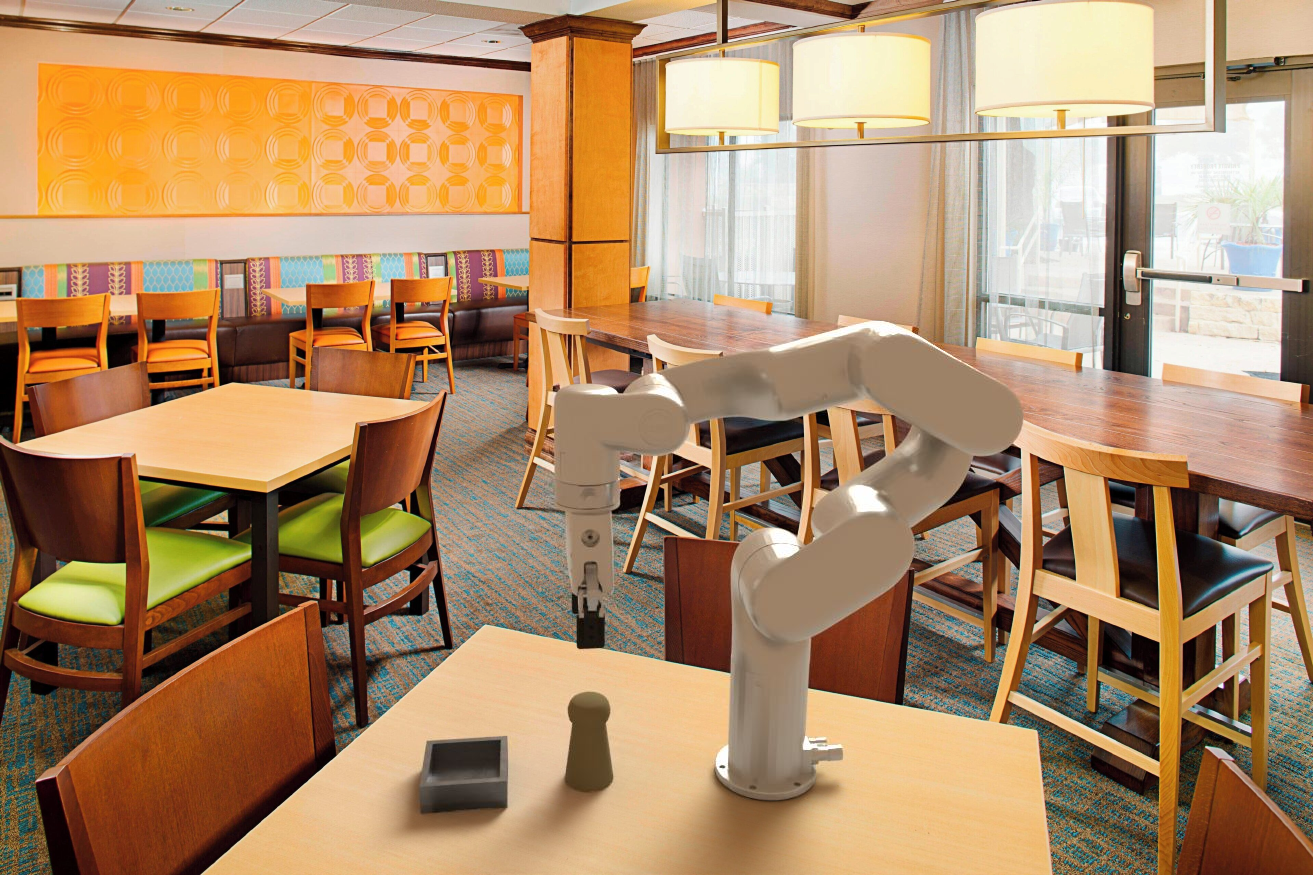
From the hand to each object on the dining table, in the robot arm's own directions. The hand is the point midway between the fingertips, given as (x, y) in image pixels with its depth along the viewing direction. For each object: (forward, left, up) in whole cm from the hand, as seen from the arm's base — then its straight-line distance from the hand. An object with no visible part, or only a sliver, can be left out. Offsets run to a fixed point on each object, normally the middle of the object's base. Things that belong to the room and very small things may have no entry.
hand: (587, 629), depth 117 cm
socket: (+15, 0, -20) cm, 25 cm away
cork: (0, 0, -20) cm, 20 cm away
